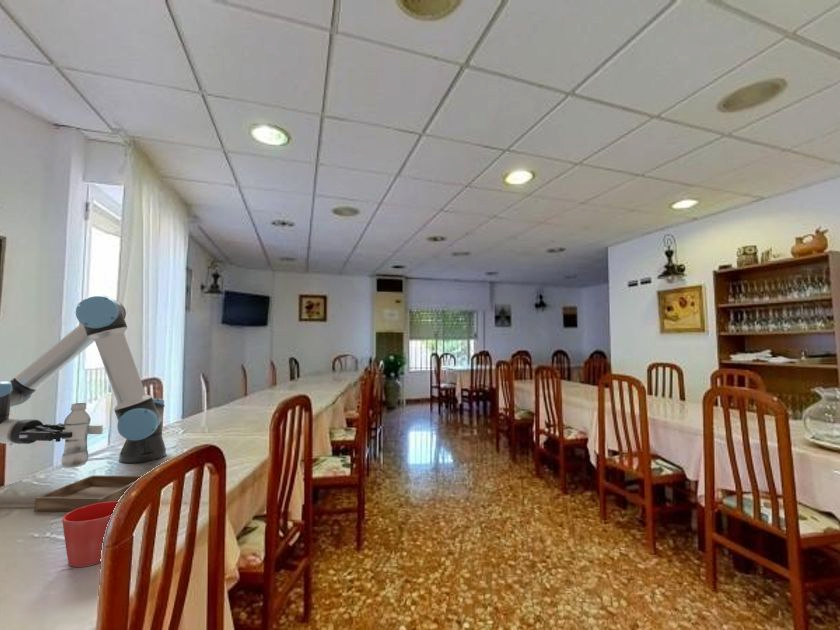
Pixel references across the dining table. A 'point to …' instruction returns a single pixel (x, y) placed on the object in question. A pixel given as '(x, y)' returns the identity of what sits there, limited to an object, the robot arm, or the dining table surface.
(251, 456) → the dining table surface
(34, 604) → the dining table surface
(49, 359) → the robot arm
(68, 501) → the walnut tray
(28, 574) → the dining table surface
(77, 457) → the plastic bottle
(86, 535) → the flower pot
